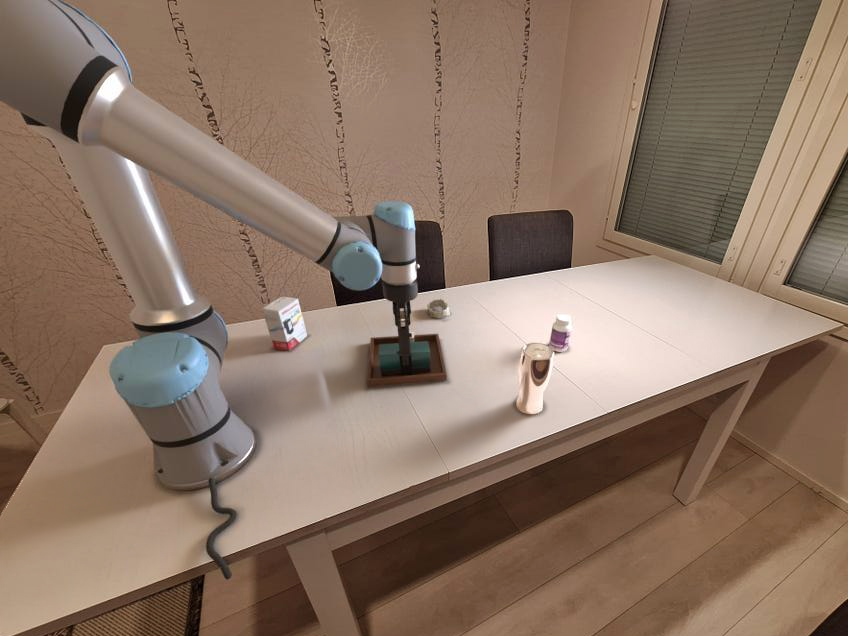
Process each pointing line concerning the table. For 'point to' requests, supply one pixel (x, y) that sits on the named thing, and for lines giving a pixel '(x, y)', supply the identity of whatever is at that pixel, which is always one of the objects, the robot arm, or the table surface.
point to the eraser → (392, 359)
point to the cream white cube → (412, 337)
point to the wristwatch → (438, 303)
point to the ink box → (285, 323)
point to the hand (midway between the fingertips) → (406, 366)
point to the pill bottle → (560, 333)
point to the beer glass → (534, 376)
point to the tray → (383, 380)
